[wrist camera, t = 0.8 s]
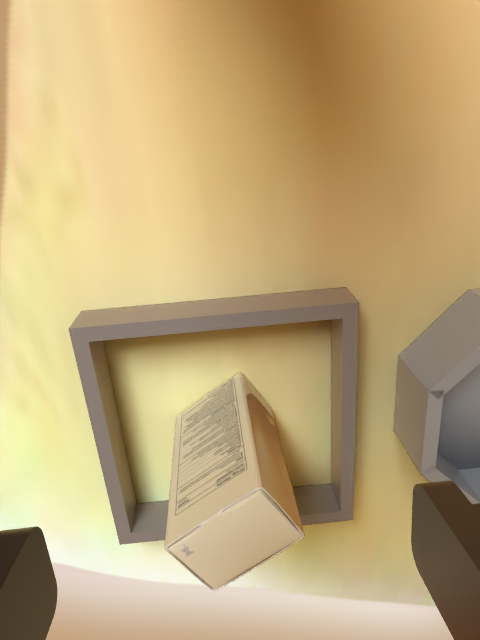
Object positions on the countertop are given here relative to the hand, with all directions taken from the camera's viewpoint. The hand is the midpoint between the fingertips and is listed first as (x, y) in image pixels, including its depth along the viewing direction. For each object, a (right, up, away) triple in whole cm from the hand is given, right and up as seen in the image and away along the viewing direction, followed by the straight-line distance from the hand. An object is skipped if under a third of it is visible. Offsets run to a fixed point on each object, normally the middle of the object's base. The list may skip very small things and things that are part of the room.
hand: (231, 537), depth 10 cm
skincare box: (-1, -2, +25) cm, 25 cm away
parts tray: (-1, -2, +24) cm, 25 cm away
